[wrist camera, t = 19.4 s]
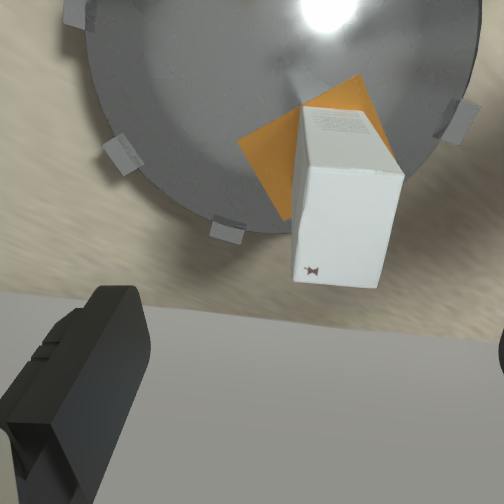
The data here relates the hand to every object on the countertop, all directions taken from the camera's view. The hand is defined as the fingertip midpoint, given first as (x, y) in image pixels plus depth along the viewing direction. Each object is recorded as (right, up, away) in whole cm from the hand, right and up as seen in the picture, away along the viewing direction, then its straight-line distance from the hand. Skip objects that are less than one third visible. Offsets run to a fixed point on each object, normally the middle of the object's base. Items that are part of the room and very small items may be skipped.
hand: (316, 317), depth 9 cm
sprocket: (0, +14, +19) cm, 24 cm away
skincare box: (+4, +9, +20) cm, 22 cm away
